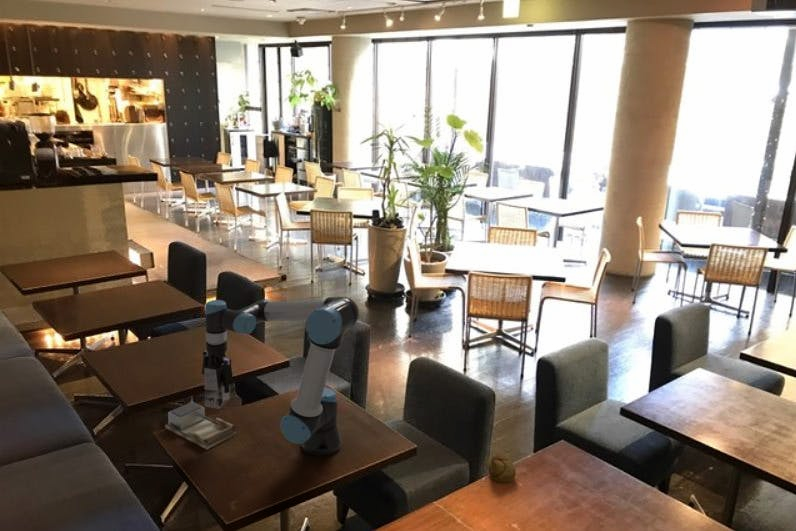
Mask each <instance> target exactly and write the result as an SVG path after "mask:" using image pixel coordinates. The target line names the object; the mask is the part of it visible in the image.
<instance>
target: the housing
mask: <svg viewBox="0 0 796 531" xmlns="http://www.w3.org/2000/svg"><path fill="white" fill-rule="evenodd" d="M205 409H206V408H205V407H204V406H202V405H201V404H198V403H196V402H193V401H191V402H188V403H187V404H184V405H182V406H179V407H177V408H174V409H173V410H170V411H168V412H167V416H168V417H167V418H168V420H167V421H168V424H170V425H172V426H174V427H176V428H178V429H180V430H182V429H184V428H186V427H188V426H190V425H193V424H195V423H197V422H199V421H201V420H203V419H205V416H206V412H205V411H206V410H205Z"/></svg>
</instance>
